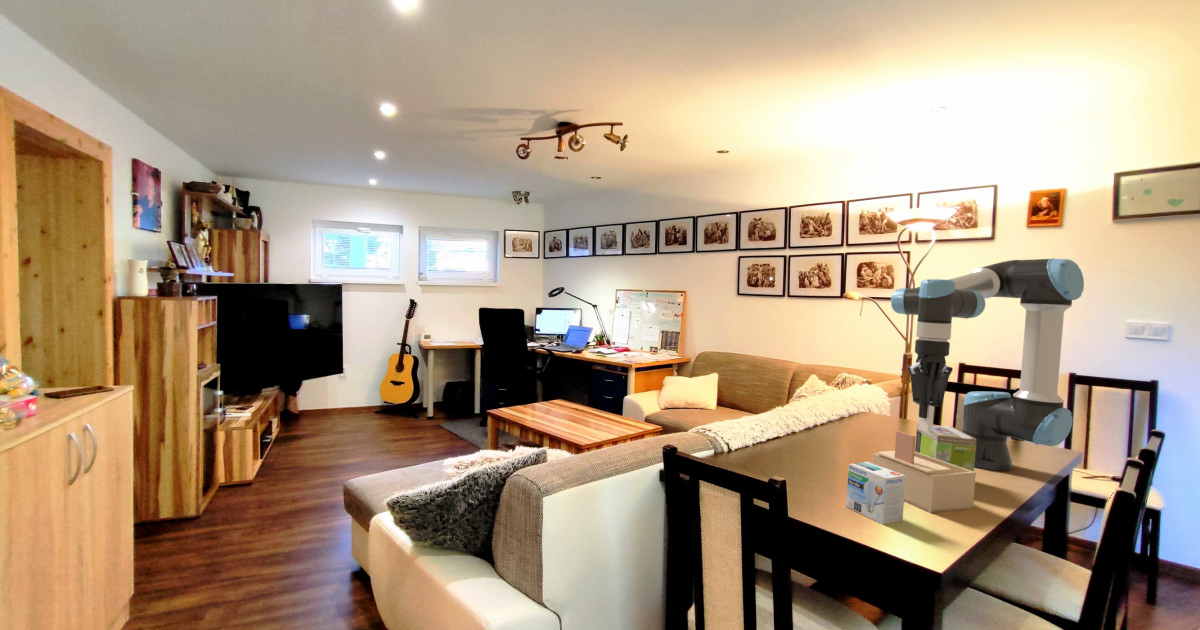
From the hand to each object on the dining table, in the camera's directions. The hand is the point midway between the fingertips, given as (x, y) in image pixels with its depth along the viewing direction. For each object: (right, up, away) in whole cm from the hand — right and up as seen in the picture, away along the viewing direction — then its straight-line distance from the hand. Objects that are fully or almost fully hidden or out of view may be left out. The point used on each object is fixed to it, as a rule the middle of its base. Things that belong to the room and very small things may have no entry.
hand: (925, 430), depth 138 cm
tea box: (+13, -18, +14) cm, 26 cm away
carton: (-1, -17, +1) cm, 17 cm away
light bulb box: (-19, -17, -12) cm, 29 cm away
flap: (-4, -8, -1) cm, 9 cm away
